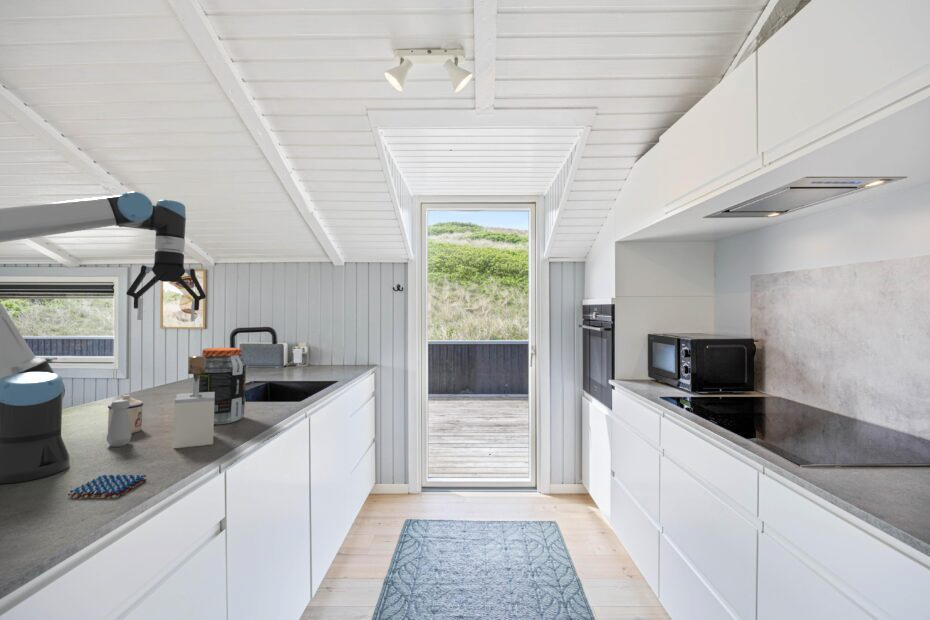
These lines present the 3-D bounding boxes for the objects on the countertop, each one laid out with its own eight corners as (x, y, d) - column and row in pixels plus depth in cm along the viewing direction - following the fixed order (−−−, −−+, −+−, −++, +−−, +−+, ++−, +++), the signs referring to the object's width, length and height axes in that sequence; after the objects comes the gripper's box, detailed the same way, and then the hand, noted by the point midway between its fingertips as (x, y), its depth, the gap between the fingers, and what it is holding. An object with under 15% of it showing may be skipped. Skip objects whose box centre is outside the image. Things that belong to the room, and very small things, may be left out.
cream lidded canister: (142, 432, 141) (143, 396, 141) (105, 437, 135) (107, 399, 135) (142, 424, 150) (143, 390, 150) (108, 427, 145) (109, 392, 145)
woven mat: (101, 482, 103) (101, 473, 103) (148, 482, 104) (148, 473, 104) (64, 501, 93) (64, 491, 93) (117, 501, 94) (117, 491, 94)
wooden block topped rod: (179, 440, 129) (182, 358, 129) (181, 433, 135) (183, 355, 135) (207, 437, 132) (210, 357, 132) (208, 431, 139) (210, 355, 139)
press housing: (173, 448, 127) (174, 400, 127) (176, 439, 136) (177, 393, 136) (213, 444, 132) (214, 397, 132) (213, 435, 140) (214, 391, 140)
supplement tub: (253, 419, 161) (255, 349, 161) (209, 428, 148) (211, 351, 148) (229, 412, 170) (231, 346, 170) (185, 420, 156) (187, 348, 156)
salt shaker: (102, 445, 127) (103, 400, 127) (125, 440, 132) (126, 397, 132) (112, 449, 125) (114, 403, 125) (135, 443, 130) (136, 399, 130)
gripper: (116, 246, 127) (112, 319, 127) (215, 254, 138) (212, 321, 138) (122, 249, 133) (119, 318, 133) (216, 256, 145) (213, 321, 144)
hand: (166, 320), depth 135 cm, fingers open, 13 cm apart
